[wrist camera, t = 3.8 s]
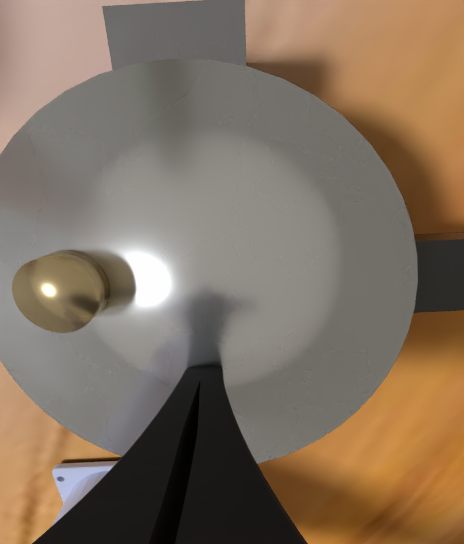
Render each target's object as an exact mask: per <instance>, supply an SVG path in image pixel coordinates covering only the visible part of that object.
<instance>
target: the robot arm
mask: <svg viewBox="0 0 464 544" xmlns="http://www.w3.org/2000/svg"><path fill="white" fill-rule="evenodd" d="M52 475H53V477H54V480H55V482H56V485H57V488H58V490H59V493H60V495H61V498H62V500H63V503H64V504H63V506H62V508H61V510H60V512H59V514H58V515H57V517H56V519H55V521H54V523H53V525H52V527H51V528H49V529H48V530H47V531H46V532H45V533H44V534H43V535H42V536H40V537H39V538H38V539H37V540H36V541H35V542H34V543H32V544H308V543H307V542H306V541H305V539H304V538H303V536H302V535H301V534H300V532H299V531H298V529H297V528H296V526H295V525H294V523H293V522H292V520H291V519H290V517H289V516H288V514H287V513H286V511H285V510H284V508H283V507H282V505H281V504H280V502H279V500H278V499H277V497H276V495H275V494H274V492H273V490H272V489H271V487H270V486H269V484H268V482H267V481H266V479H265V477H264V476H263V474H262V472H261V470H260V468H259V467H258V465H257V463H256V461H255V459H254V457H253V455H252V454H251V452H250V450H249V448H248V446H247V444H246V441H245V439H244V437H243V435H242V433H241V431H240V428H239V426H238V424H237V421H236V419H235V416H234V414H233V411H232V408H231V405H230V402H229V399H228V396H227V393H226V389H225V385H224V380H223V368H222V367H220V366H207V367H188V368H187V369H186V370H185V371H184V373H183V375H182V377H181V378H180V380H179V382H178V383H177V385H176V387H175V388H174V390H173V391H172V393H171V394H170V396H169V397H168V399H167V400H166V402H165V403H164V405H163V406H162V407H161V409H160V410H159V412H158V413H157V414H156V416H155V417H154V418H153V420H152V421H151V422H150V424H149V425H148V426H147V428H146V429H145V430H144V432H143V433H142V434H141V435H140V437H139V438H138V439H137V440H136V441H135V443H134V444H133V445H132V446H131V447H130V449H129V450H128V451H127V452H126V453H125V454H124V455H123V456H122V458H121V459H120V460H119V461H104V462H83V463H62V464H57V465H56V466H55V467H54V469H53V471H52Z"/></svg>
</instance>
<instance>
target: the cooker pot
mask: <svg viewBox="0 0 464 544" xmlns="http://www.w3.org/2000/svg"><path fill="white" fill-rule="evenodd" d="M102 8H103V14H104V20H105V26H106V32H107V38H108V44H109V50H110V56H111V62H112V68H113V70H115V69H119V68H122V67H125V66H128V65H132V64H136V63H144V62H151V61H158V60H165V59H208V60H215V61H221V62H226V63H232V64H237V65H243V66H246V36H245V0H203V1H185V2H168V3H151V4H134V5H116V6H102ZM414 239H415V245H416V251H417V271H418V284H417V292H416V300H415V308H414V312H413V313H416V312H436V311H456V310H464V232H456V233H436V234H417V235H414Z"/></svg>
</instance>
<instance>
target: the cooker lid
mask: <svg viewBox="0 0 464 544" xmlns="http://www.w3.org/2000/svg"><path fill="white" fill-rule="evenodd" d="M417 284H418V271H417V251H416V245H415V239H414V233H413V227H412V224H411V221H410V218H409V215H408V211H407V208H406V205H405V202H404V199H403V197H402V195H401V193H400V191H399V189H398V187H397V185H396V183H395V181H394V179H393V177H392V175H391V173H390V171H389V169H388V168H387V166H386V165H385V164H384V162H383V161H382V159H381V158H380V157H379V155H378V154H377V152H376V151H375V150H374V148H373V147H372V146H371V144H370V143H369V142H368V141H367V140H366V139H365V138H364V137H363V136H362V134H361V133H360V132H359V131H358V130H357V129H356V128H355V127H354V126H353V125H352V124H351V123H350V122H349V121H348V120H347V119H346V118H345V117H343V116H342V115H341V114H339V113H338V112H337V111H335V110H334V109H333V108H331V107H330V106H329V105H327V104H326V103H325V102H323V101H322V100H321V99H319V98H318V97H317V96H315V95H313V94H311V93H309V92H307V91H306V90H304V89H302V88H300V87H298V86H296V85H294V84H292V83H290V82H289V81H287V80H285V79H283V78H280V77H277V76H274V75H271V74H268V73H265V72H262V71H260V70H257V69H254V68H251V67H248V66H243V65H237V64H232V63H226V62H221V61H215V60H208V59H165V60H158V61H151V62H144V63H136V64H132V65H128V66H125V67H122V68H119V69H115V70H112V71H109V72H106V73H102V74H99V75H97V76H95V77H93V78H91V79H89V80H87V81H85V82H83V83H81V84H79V85H77V86H75V87H73V88H71V89H69V90H67V91H65V92H64V93H62V94H61V95H59V96H58V97H57V98H55V99H54V100H53V101H51V102H50V103H48V104H47V105H46V106H44V107H43V108H42V109H40V110H39V111H37V112H36V113H35V114H34V115H33V116H32V117H31V119H30V120H29V121H28V122H27V123H26V124H25V125H24V126H23V127H22V128H21V129H20V130H19V131H18V132H17V133H16V134H15V135H14V136H13V137H12V139H11V140H10V142H9V143H8V145H7V146H6V148H5V149H4V150H3V152H2V153H1V155H0V360H1V361H2V363H3V365H4V366H5V368H6V369H7V371H8V372H9V374H10V375H11V376H12V378H13V379H14V380H15V381H16V382H17V384H18V385H19V386H20V387H21V389H22V390H23V391H24V392H25V393H26V394H27V395H28V396H29V397H30V398H31V399H32V400H33V401H34V402H35V403H36V404H37V405H38V406H39V407H40V408H41V409H42V410H43V411H44V412H45V413H47V414H48V415H49V416H51V417H52V418H53V419H54V420H56V421H57V422H58V423H60V424H61V425H62V426H64V427H65V428H67V429H68V430H70V431H71V432H73V433H75V434H76V435H78V436H79V437H81V438H83V439H85V440H87V441H89V442H91V443H93V444H95V445H97V446H99V447H101V448H103V449H105V450H107V451H110V452H113V453H115V454H118V455H120V456H123V455H124V454H125V453H126V452H127V451H128V450H129V449H130V447H131V446H132V445H133V444H134V443H135V441H136V440H137V439H138V438H139V437H140V435H141V434H142V433H143V432H144V430H145V429H146V428H147V426H148V425H149V424H150V422H151V421H152V420H153V418H154V417H155V416H156V414H157V413H158V412H159V410H160V409H161V407H162V406H163V405H164V403H165V402H166V400H167V399H168V397H169V396H170V394H171V393H172V391H173V390H174V388H175V387H176V385H177V383H178V382H179V380H180V378H181V377H182V375H183V373H184V371H185V370H186V369H187V368H188V367H207V366H220V367H222V368H223V380H224V385H225V389H226V393H227V396H228V399H229V402H230V405H231V408H232V411H233V414H234V416H235V419H236V421H237V424H238V426H239V428H240V431H241V433H242V435H243V437H244V439H245V441H246V444H247V446H248V448H249V450H250V452H251V454H252V455H253V457H254V459H255V461H256V463H257V464H258V463H262V462H265V461H269V460H272V459H276V458H279V457H282V456H284V455H287V454H289V453H292V452H294V451H297V450H299V449H301V448H303V447H305V446H307V445H309V444H311V443H313V442H315V441H317V440H319V439H320V438H322V437H324V436H325V435H327V434H328V433H330V432H331V431H333V430H334V429H336V428H337V427H339V426H340V425H341V424H342V423H343V422H345V421H346V420H347V419H348V418H350V417H351V416H352V415H353V414H354V413H356V412H357V411H358V410H359V409H360V407H361V406H362V405H363V404H364V403H365V402H366V401H367V400H368V399H369V398H370V397H371V396H372V395H373V394H374V392H375V391H376V390H377V388H378V387H379V386H380V384H381V383H382V382H383V380H384V379H385V378H386V376H387V375H388V373H389V371H390V369H391V368H392V366H393V364H394V362H395V361H396V359H397V357H398V355H399V353H400V351H401V348H402V346H403V344H404V341H405V339H406V336H407V334H408V331H409V327H410V323H411V320H412V316H413V312H414V308H415V300H416V292H417Z"/></svg>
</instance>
